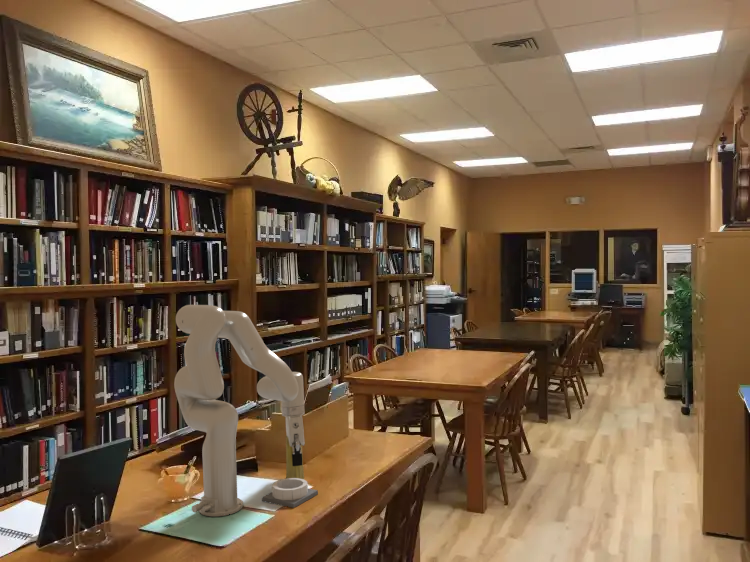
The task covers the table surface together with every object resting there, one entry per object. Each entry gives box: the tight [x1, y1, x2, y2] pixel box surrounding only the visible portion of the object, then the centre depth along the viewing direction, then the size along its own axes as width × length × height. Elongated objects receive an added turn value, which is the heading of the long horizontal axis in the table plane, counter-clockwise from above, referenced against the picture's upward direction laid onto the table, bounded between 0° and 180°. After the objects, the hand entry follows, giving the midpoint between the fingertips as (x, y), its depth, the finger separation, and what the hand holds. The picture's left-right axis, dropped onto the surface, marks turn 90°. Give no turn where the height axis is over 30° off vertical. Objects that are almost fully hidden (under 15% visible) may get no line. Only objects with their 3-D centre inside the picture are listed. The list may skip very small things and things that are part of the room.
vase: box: [285, 435, 305, 480], centre depth 206 cm, size 6×6×14 cm
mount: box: [261, 477, 319, 509], centre depth 190 cm, size 12×12×4 cm
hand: (295, 460), depth 207 cm, fingers open, 9 cm apart
